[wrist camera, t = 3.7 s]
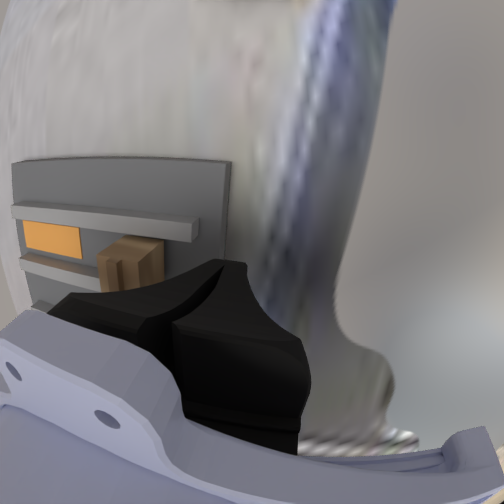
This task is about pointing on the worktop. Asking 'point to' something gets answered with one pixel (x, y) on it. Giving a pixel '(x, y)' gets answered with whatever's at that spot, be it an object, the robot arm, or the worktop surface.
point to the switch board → (114, 216)
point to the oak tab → (131, 263)
